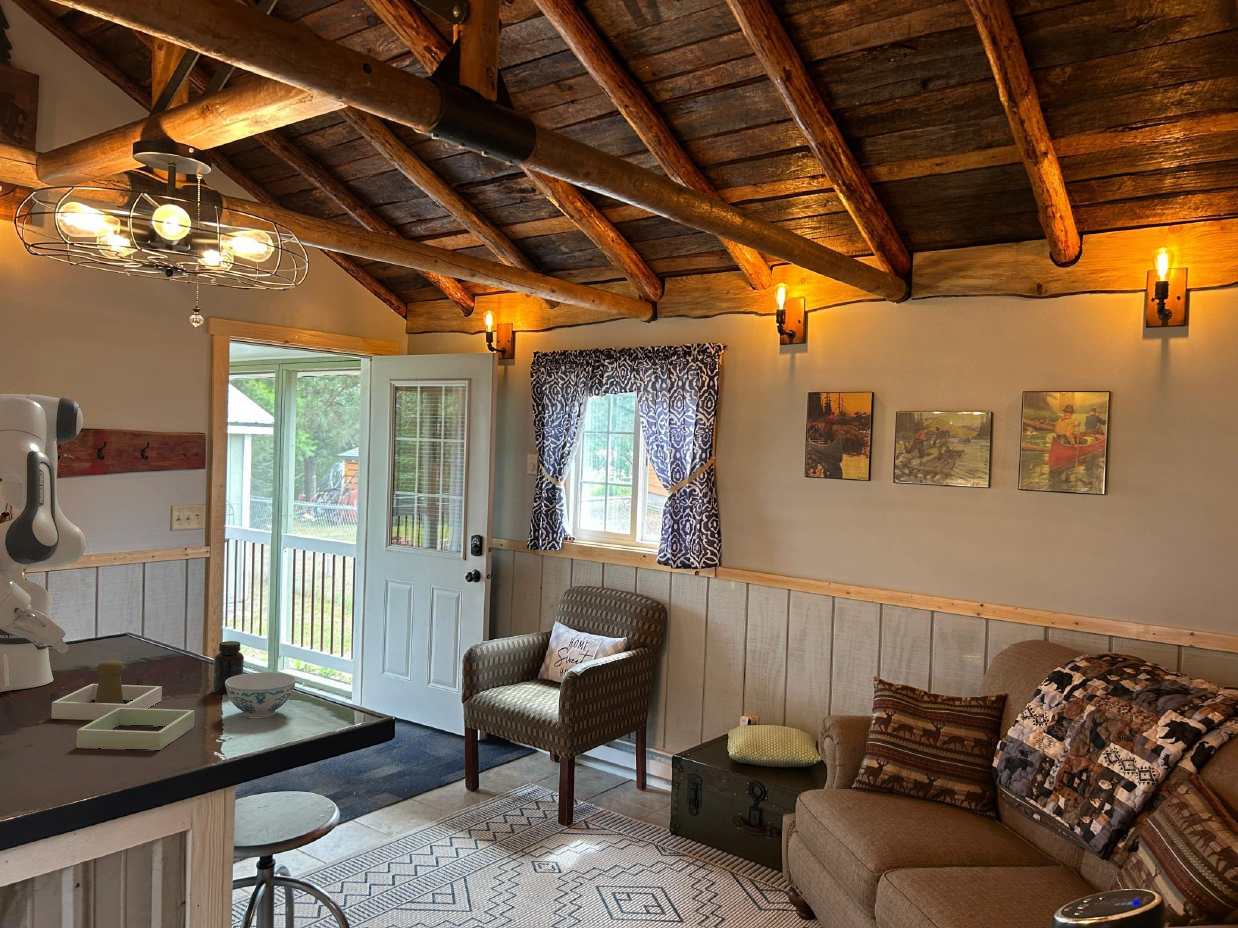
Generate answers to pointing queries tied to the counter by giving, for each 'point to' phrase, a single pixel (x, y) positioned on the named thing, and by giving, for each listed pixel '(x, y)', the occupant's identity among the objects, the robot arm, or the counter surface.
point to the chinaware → (260, 692)
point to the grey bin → (82, 710)
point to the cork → (110, 682)
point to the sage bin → (106, 738)
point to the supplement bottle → (227, 665)
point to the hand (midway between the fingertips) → (53, 647)
